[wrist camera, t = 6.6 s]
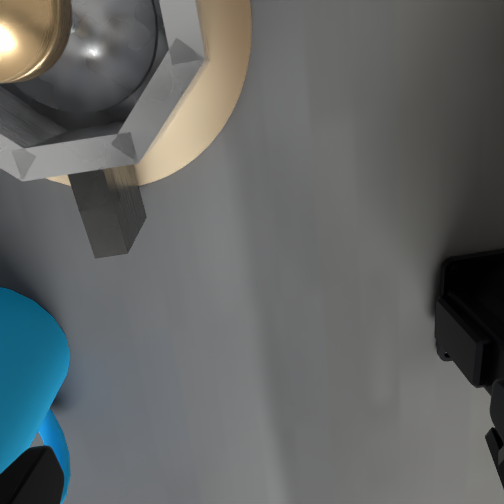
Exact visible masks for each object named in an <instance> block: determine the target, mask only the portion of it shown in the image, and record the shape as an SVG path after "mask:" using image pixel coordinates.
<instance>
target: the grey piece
mask: <svg viewBox="0 0 504 504" xmlns="http://www.w3.org/2000/svg"><path fill="white" fill-rule="evenodd" d="M154 4H155V7H156V12H157V18H158V32H159V36H158V47H157V52H156V57H155V60H154V63H153V66H152V68H151V70H150V72H149V74H148V76H147V78H146V79H145V81H144V82H143V84H142V85H141V86H140V87H139V88H138V89H137V91H136V92H135V93H134V94H132V95H131V96H130V97H128V98H127V99H126V100H124V101H122V102H121V103H119V104H117V105H114V106H112V107H109V108H106V109H103V110H99V111H95V112H86V113H76V112H67V111H62V110H58V109H55V108H52V107H49V106H47V105H44V104H42V103H40V102H38V101H36V100H35V99H33V98H31V97H30V96H28V95H27V94H25V93H24V92H23V91H21V90H20V89H19V88H18V87H16V86H15V85H14V84H13V83H1V84H0V168H1V169H3V170H4V171H6V172H8V173H9V174H11V175H13V176H14V177H16V178H18V179H19V180H21V181H29V180H35V179H42V178H48V177H55V176H61V175H68V178H69V181H70V184H71V187H72V190H73V193H74V196H75V199H76V202H77V205H78V208H79V211H80V214H81V217H82V220H83V223H84V226H85V229H86V232H87V235H88V238H89V241H90V244H91V247H92V250H93V253H94V256H95V258H101V257H108V256H114V255H121V254H127V253H128V252H129V250H130V248H131V246H132V244H133V242H134V240H135V238H136V237H137V235H138V233H139V231H140V229H141V227H142V225H143V223H144V221H145V219H146V213H145V209H144V205H143V202H142V198H141V194H140V190H139V186H138V183H137V179H136V175H135V171H134V167H133V164H138V163H140V161H141V160H142V159H143V158H144V157H145V156H146V155H147V154H148V153H149V151H150V150H151V149H152V148H153V147H154V146H155V145H156V144H157V142H158V141H159V140H160V139H161V138H162V136H163V135H164V133H165V131H166V130H167V128H168V127H169V125H170V124H171V122H172V121H173V119H174V118H175V116H176V115H177V113H178V111H179V110H180V108H181V107H182V105H183V104H184V102H185V101H186V99H187V98H188V96H189V94H190V93H191V91H192V90H193V88H194V87H195V85H196V84H197V82H198V81H199V79H200V77H201V76H202V74H203V73H204V71H205V70H206V68H207V67H208V65H209V64H210V62H211V61H210V55H209V49H208V43H207V37H206V31H205V25H204V19H203V13H202V7H201V1H200V0H154Z"/></svg>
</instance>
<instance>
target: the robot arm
mask: <svg viewBox="0 0 504 504" xmlns="http://www.w3.org/2000/svg"><path fill="white" fill-rule="evenodd" d="M453 265H455V268H453V269H452V270H450V267H451V266H453ZM435 338H436V339H437V354H438V356H439V357H440V358H441V359H442V360H443V361H454V363H455V364H456V365H457V366H458V368H459V369H460V370H461V372H462V373H463V374H464V375H465V377H466V378H467V379H468V381H469V382H470V383H471V384H472V385H473V386H475V387H476V388H481V387H484V388H485V389H486V391H487V392H488V393H489V394H490V396H491V403H490V416H491V419H492V422H493V424H494V426H495V428H493V427H492V428H491V429H490V430H489V432H488V433H487V434H486V435H485V439H486V441H487V444H488V447H489V450H490V452H491V455H492V458H493V461H494V464H495V466H496V469H497V472H498V475H499V477H500V480H501V483H502V486H503V488H504V249H502V250H495V251H489V252H482V253H476V254H469V255H463V256H456V257H450V258H447V259H446V260H445V261H444V262H443V263H442V266H441V279H440V296H439V297H438V299H437V300H436V316H435ZM446 352H447V353H446ZM63 488H64V473H63V470H62V468H61V466H60V463H59V461H58V459H57V457H56V455H55V453H54V451H53V449H52V448H51V447H50V446H47V445H44V446H38V447H31V448H28V449H27V450H25V451H24V452H23V453H22V454H21V455H20V456H19V457H18V458H17V459H16V460H15V461H13V462H12V463H11V464H10V465H9V466H8V467H7V468H6V469H5V470H4V471H3V472H2V473H1V474H0V504H60V502H61V497H62V492H63Z"/></svg>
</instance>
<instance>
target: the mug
mask: <svg viewBox="0 0 504 504" xmlns="http://www.w3.org/2000/svg"><path fill="white" fill-rule="evenodd" d="M69 361H70V351H69V347H68V343H67V339H66V336H65V334H64V333H63V331H62V330H61V328H60V327H59V325H58V323H57V322H56V320H55V319H54V317H53V316H51V315H50V314H49V313H48V312H47V311H45V310H44V309H43V308H42V307H41V306H40V305H38V304H37V303H36V302H35V301H33V300H31V299H29V298H27V297H25V296H23V295H21V294H19V293H17V292H15V291H13V290H10V289H7V288H2V287H0V474H1V473H2V472H3V471H4V470H5V469H6V468H7V467H8V466H9V465H10V464H11V463H12V462H13V461H15V460H16V459H17V458H18V457H19V456H20V455H21V454H22V453H23V452H24V451H25V450H27V449H28V448H29V447H30V445H31V443H32V441H33V439H34V437H35V435H36V433H37V432H39V434H40V436H41V438H42V440H43V443H44V445H47V446H50V447H51V448H52V449H53V451H54V453H55V455H56V457H57V459H58V461H59V463H60V466H61V468H62V470H63V473H64V488H63V492H62V497H61V502H60V504H62V503H63V501H64V500H65V498H66V495H67V490H68V485H69V480H70V476H71V474H70V457H69V451H68V447H67V444H66V440H65V437H64V434H63V431H62V429H61V427H60V425H59V423H58V421H57V420H56V418H55V416H54V414H53V412H52V411H51V409H50V406H51V404H52V402H53V400H54V398H55V397H56V395H57V393H58V391H59V389H60V387H61V385H62V383H63V381H64V379H65V377H66V375H67V373H68V367H69Z"/></svg>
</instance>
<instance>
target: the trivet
mask: <svg viewBox="0 0 504 504" xmlns="http://www.w3.org/2000/svg"><path fill="white" fill-rule="evenodd" d="M200 1H201V7H202V13H203V19H204V25H205V31H206V37H207V43H208V49H209V55H210V61H211V62H210V64H209V65H208V67H207V68H206V70H205V71H204V73H203V74H202V76H201V77H200V79H199V81H198V82H197V84H196V85H195V87H194V88H193V90H192V91H191V93H190V94H189V96H188V98H187V99H186V101H185V102H184V104H183V105H182V107H181V108H180V110H179V111H178V113H177V115H176V116H175V118H174V119H173V121H172V122H171V124H170V125H169V127H168V128H167V130H166V131H165V133H164V135H163V136H162V138H161V139H160V140H159V141H158V142H157V144H156V145H155V146H154V147H153V148H152V149H151V150H150V151H149V153H148V154H147V155H146V156H145V157H144V158H143V159H142V160H141V161H140V163H138V164H133V167H134V171H135V175H136V179H137V183H138V186H140V185H144V184H148V183H151V182H154V181H156V180H159V179H162V178H164V177H166V176H168V175H170V174H172V173H174V172H176V171H178V170H179V169H181V168H183V167H184V166H185V165H187V164H188V163H189V162H191V161H192V160H194V159H195V158H196V157H197V156H198V155H199V154H200V153H201V152H203V151H204V150H205V149H206V148H207V147H208V146H209V145H210V144H211V142H212V141H213V140H214V139H215V137H216V136H217V135H218V134H219V132H220V131H221V130H222V128H223V127H224V125H225V123H226V122H227V120H228V118H229V117H230V115H231V113H232V112H233V109H234V107H235V105H236V102H237V100H238V98H239V96H240V93H241V90H242V87H243V83H244V80H245V77H246V73H247V68H248V62H249V56H250V50H251V32H252V21H251V6H250V0H200ZM47 179H49V180H52V181H55V182H59V183H63V184H66V185H70V186H71V184H70V181H69V178H68V175H61V176H55V177H48V178H47Z"/></svg>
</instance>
